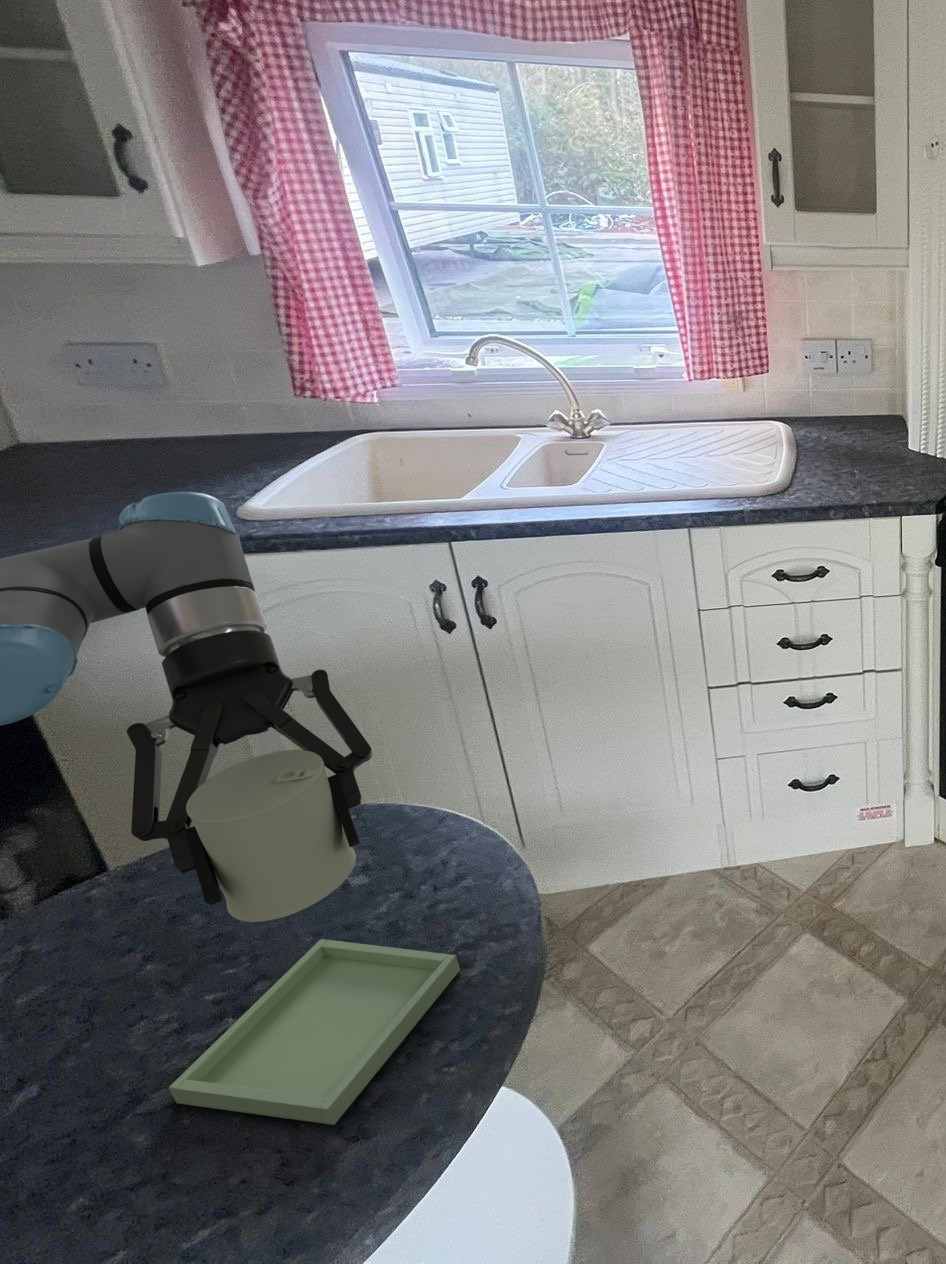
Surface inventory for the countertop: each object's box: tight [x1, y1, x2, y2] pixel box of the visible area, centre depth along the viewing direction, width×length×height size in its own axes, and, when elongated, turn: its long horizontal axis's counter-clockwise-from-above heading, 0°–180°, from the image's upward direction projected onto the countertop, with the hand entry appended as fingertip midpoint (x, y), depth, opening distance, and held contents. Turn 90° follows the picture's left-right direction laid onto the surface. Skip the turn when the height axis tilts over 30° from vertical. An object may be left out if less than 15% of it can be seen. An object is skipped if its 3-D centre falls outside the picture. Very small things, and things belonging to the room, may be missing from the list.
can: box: [186, 749, 357, 923], centre depth 74 cm, size 9×9×12 cm
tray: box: [168, 938, 461, 1126], centre depth 76 cm, size 15×15×2 cm
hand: (287, 870), depth 73 cm, fingers closed on can, 9 cm apart
